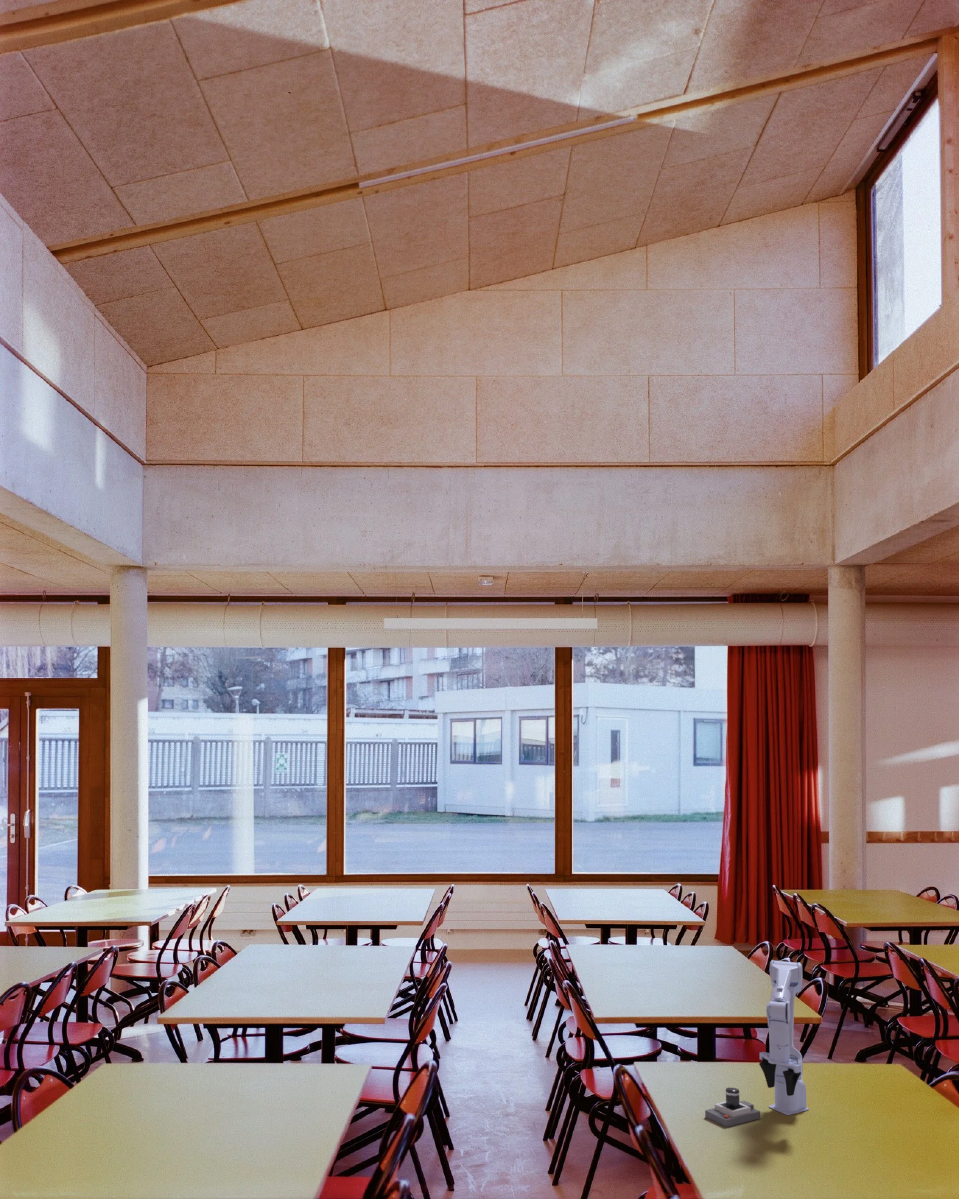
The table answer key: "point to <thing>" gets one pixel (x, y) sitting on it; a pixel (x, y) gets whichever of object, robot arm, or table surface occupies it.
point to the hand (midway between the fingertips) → (780, 1091)
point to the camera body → (732, 1114)
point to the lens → (732, 1098)
